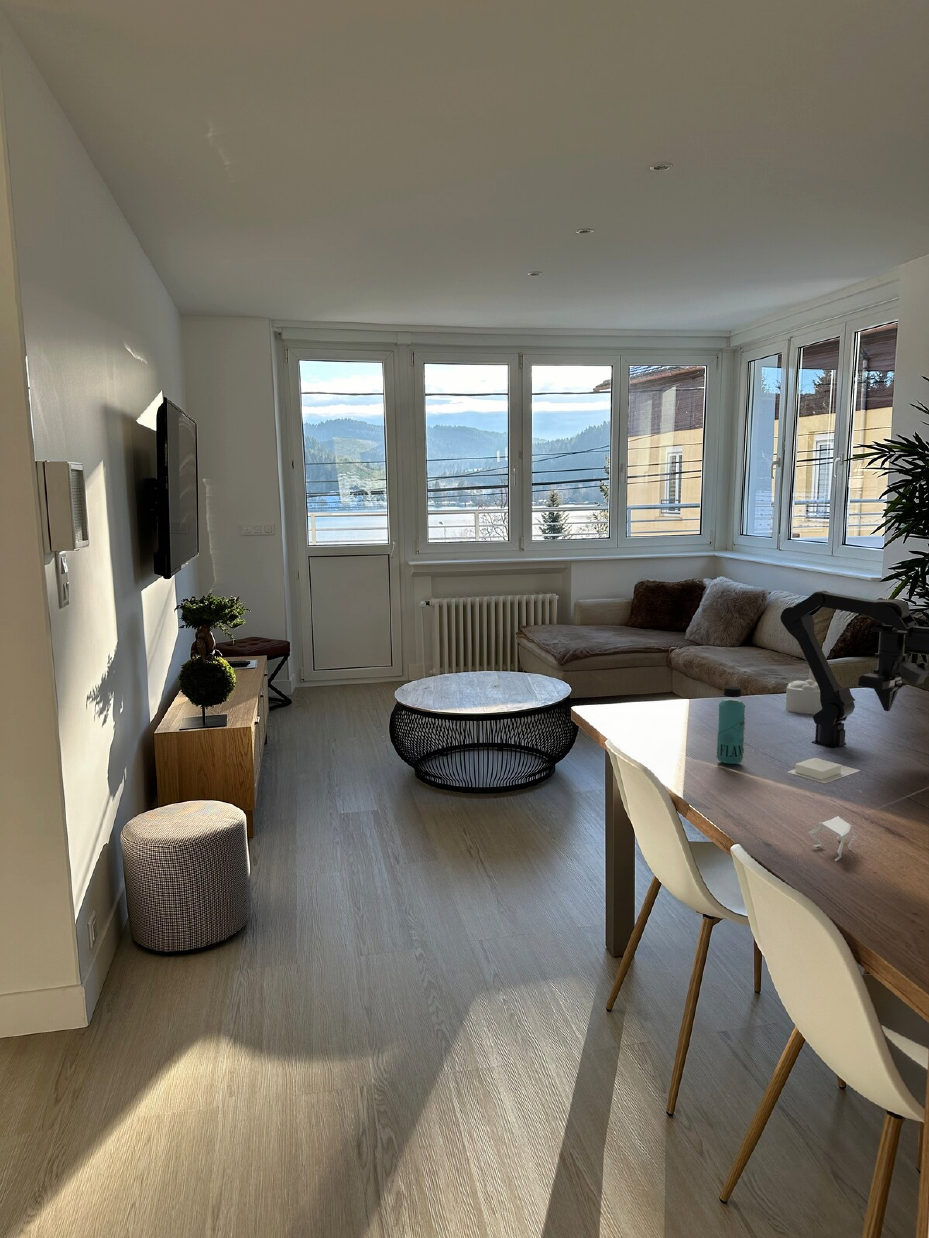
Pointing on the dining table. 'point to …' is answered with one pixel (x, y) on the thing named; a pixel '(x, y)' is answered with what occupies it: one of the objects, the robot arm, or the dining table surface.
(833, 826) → the white legged piece
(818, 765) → the rectangular block
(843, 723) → the robot arm
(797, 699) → the white bumpy block
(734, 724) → the beverage bottle
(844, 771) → the felt mat
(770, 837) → the dining table surface
